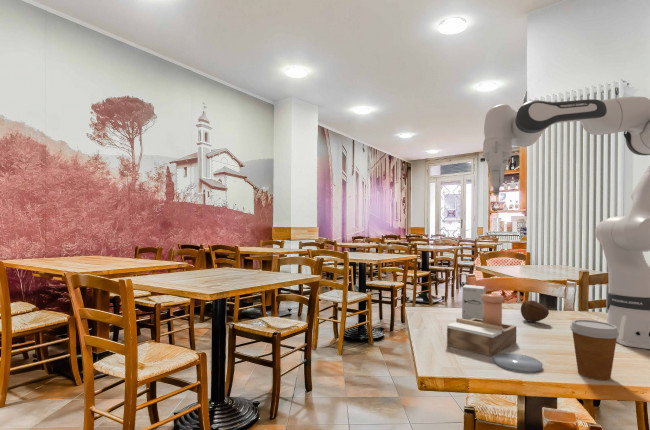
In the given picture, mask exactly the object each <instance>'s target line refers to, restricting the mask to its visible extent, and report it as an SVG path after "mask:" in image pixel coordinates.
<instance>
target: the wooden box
mask: <svg viewBox="0 0 650 430" xmlns="http://www.w3.org/2000/svg"><path fill="white" fill-rule="evenodd" d="M470 320H471V321H477V322H482V323H483V320H482V319H476V318H472V319H470ZM446 328H447V327H446ZM446 333H447V334H446V346H449V347H453V348H456V349H457V348H458V349H462V350H465V351H469V352H473V353H476V354H481V355H485V356H489V357H493V358H494V355H496V354H499V353H503V351H505V350H506V349H508V348H510V347H512V346H513V345H514V344H517V326H516V325H514V324H513V325H512V324H507V323H504V322H502V333H501V334H499V335H497V336H495V337H493V338H492V337H487V336H482V335H478V334H473V333H469V332H464V331H460V330H455V329H450V328H447V329H446Z"/></svg>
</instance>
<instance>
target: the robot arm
mask: <svg viewBox="0 0 650 430" xmlns="http://www.w3.org/2000/svg"><path fill="white" fill-rule="evenodd" d="M571 122H580V125H581V127H582V128H583V130H584V131H585V132H587V133H588V134H590V135H595V136H598V135H599V136H603V135H610V134H616V133H622V132H623V137H624V138H625V144H626V146H627V148H628V150H629V151H630V152H631V153H632V154H634V155H638V156H650V98H647V97H646V96H624V97H623V96H621V97H620V96H619V97H614V98H607V99H595V98H594V99H590V98H588V99H578V100H566V101H546V100H540V99H539V100H538V99H536V100H530V101H527V102H525V103H524V104H522V105H521V106H520V107H519V108H518V111H517V110H516V109H513V108H512V107H511V106H510V105H509V104H506V103H505V104H498V105H495V106H493V107H491V108H489V110H487V112H486V114H485V118H484V125H483V134H484V140H483V144H482V145H483V147H482V157H483V159H485V161H486V164H487V165H488V167H489V176H490V183H491V186H492V188H493V189H492V190H493V191H492V192H493V193H492V194H493V196H497V197H498V196H499V195H500V189H501V187H502V186H503V185H504V180H505V179H504V178H505V174H506V166H507V165H508V163H509V160H510V158H512V155H513V153H512V152H513V151H512V150H513V148H512V147H513V146H516V147H523V148H524V147H525V148H527V147H529V146H533V145H534V144H536V142H537V141H538V140H539V139H540V138H541V136H542V134H543V133H544V132H545V130H547V129H548V128H549V127H550V126H552V125H555V124H561V123H571ZM630 198H631V200H632V202H631V207H630V210H629V212H628V213H627V214H626V215H621V216H620V215H617V216H610V217H609V218H605V219H604V220H601V221H600V222H599V223H598V224H597V225H596V227H595V237H596V240H597V241H598V243H600V244H601V247H602V250H603V253H604V254H603V255H604V257H605V260H606V265H607V273H608V276H607V277H608V292H607V293H606V299H605V301H606V302H605V303H606V305H605V306H606V309H607V315H606V320H605V323H609V324H612V325H614V326H616V327H617V330H618V332H619V335H618V337H617V339H616V343H617V344H619V345H622V346H626V347H632V348H639V349H645V350H650V265H649V264H648V262H647V261H646V259H645V255H644V252H650V165H649V167H648V168H646V170H645V172H644V173H643V175H642V177H641V178H640V179H639V181H638V183H637V184H636V185H635V187H634V189H633V191H632V192H631V193H630Z"/></svg>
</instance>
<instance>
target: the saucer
mask: <svg viewBox="0 0 650 430" xmlns="http://www.w3.org/2000/svg"><path fill="white" fill-rule="evenodd" d="M493 363H494V364H495V365H497V366H498V367H500V368H502V369H505V370H509V371H512V372H513V371H514V372H518V373H527V374H528V373H530V374H531V373H533V374H534V373H539V372H542V370H543V363H542V362H541V361H540V360H539V359H536V358H534V357H532V356H529V355H526V354H525V355H524V354H521V353H514V352H513V353H512V352H500V353H498V354H496V355H494V356H493Z"/></svg>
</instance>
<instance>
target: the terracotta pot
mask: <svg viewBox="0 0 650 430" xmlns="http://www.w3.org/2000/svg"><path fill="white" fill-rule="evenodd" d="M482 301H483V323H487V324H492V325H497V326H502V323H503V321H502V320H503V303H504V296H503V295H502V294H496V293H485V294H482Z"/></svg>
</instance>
